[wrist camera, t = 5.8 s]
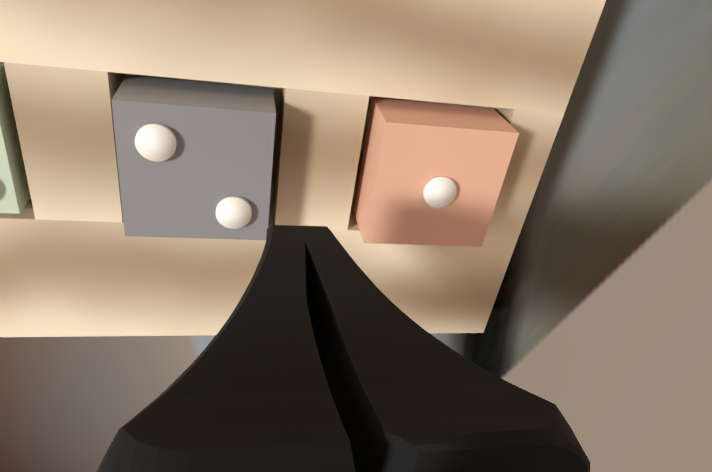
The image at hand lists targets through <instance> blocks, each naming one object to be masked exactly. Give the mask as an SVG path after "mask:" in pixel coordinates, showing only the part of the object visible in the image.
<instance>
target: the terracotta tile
mask: <svg viewBox="0 0 712 472" xmlns="http://www.w3.org/2000/svg"><path fill="white" fill-rule="evenodd" d="M518 135H519V132H518V131H516V130H515V129H514V128H513V127H512V126H511V125H510V124H509V123H508V122H507V121H506V120H505V119H504V118H503V117H502V116H501V115H499V114H498V113H497V112H496V111H495V110H494V109H492V108H481V107H470V106H459V105H448V104H437V103H426V102H415V101H404V100H393V99H382V98H372V104H371V110H370V116H369V122H368V127H367V133H366V139H365V145H364V151H363V157H362V163H361V169H360V175H359V181H358V187H357V193H356V199H355V205H354V214H355V217H356V220H357V223H358V226H359V229H360V232H361V236H362V239H363V242H364V243H372V244H406V245H440V246H474V247H482V245H483V242H484V239H485V235H486V232H487V229H488V226H489V223H490V220H491V217H492V214H493V211H494V208H495V205H496V202H497V199H498V196H499V193H500V190H501V187H502V184H503V181H504V178H505V175H506V172H507V169H508V166H509V163H510V160H511V157H512V154H513V151H514V148H515V144H516V141H517V138H518Z"/></svg>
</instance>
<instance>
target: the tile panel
mask: <svg viewBox="0 0 712 472" xmlns="http://www.w3.org/2000/svg"><path fill="white" fill-rule="evenodd" d="M605 2H606V0H0V62H4V66H5V71H6V76H7V81H8V86H9V91H10V96H11V101H12V106H13V111H14V116H15V121H16V126H17V131H18V136H19V141H20V146H21V151H22V156H23V161H24V166H25V171H26V175H27V180H28V185H29V190H30V195H31V198H30V199H29V201H28V202H27V204H26V205H25V207H24V208H23V210H22V211H21V213H20V214H12V213H0V337H60V336H61V337H64V336H65V337H66V336H179V335H217V334H218V332H219V331H220V330H221V328H222V327H223V325H224V324H225V323H226V321H227V320H228V318H229V317H230V315H231V314H232V312H233V311H234V309H235V308H236V306H237V304H238V303H239V301H240V299H241V297H242V296H243V294H244V292H245V290H246V288H247V287H248V285H249V283H250V281H251V279H252V277H253V275H254V272H255V270H256V268H257V266H258V263H259V261H260V259H261V256H262V253H263V250H264V247H265V243H266V240H237V239H203V238H169V237H135V236H125V232H124V222H123V212H122V202H121V192H120V182H119V172H118V162H117V151H116V141H115V131H114V121H113V111H112V101H111V100H112V98H113V96H114V95H115V93H116V91H117V90H118V88H119V87H120V85H121V83H122V82H123V80H124V78H125V77H126V75H131V76H142V77H153V78H164V79H175V80H186V81H197V82H207V83H218V84H229V85H240V86H251V87H262V88H273V92H274V101H275V109H276V121H275V135H274V150H273V164H272V178H271V192H270V206H269V221H268V228H269V227H270V226H272V225H294V226H327V227H328V228H329V229H330V230H331V231H332V233H333V234H334V235H335V237H336V238H337V239H338V241H339V242H340V243H341V245H342V246H343V247H344V249H345V250H346V251H347V253H348V254H349V255H350V256H351V258H352V259H353V260H354V261H355V262H356V264H357V265H358V266H359V267H360V268H361V270H362V271H363V272H364V273H365V274H366V275H367V276H368V278H369V279H370V280H371V281H372V282H373V283H374V284H375V285H376V286H377V288H378V289H379V290H380V291H381V292H382V293H383V294H384V295H385V296H386V297H387V298H388V299H389V300H390V301H391V302H392V303H393V304H395V305H396V306H397V307H398V308H399V309H400V310H401V311H402V312H403V313H405V314H406V315H407V316H408V317H409V318H411V319H412V320H413V321H414V322H416V323H417V324H418V325H419V326H420V327H422V328H423V329H424V330H425V331H427V332H428V333H483V332H484V329H485V327H486V324H487V321H488V318H489V316H490V313H491V310H492V308H493V305H494V302H495V299H496V297H497V294H498V291H499V289H500V286H501V283H502V281H503V278H504V275H505V272H506V270H507V267H508V264H509V262H510V259H511V256H512V254H513V251H514V248H515V245H516V243H517V240H518V237H519V235H520V232H521V229H522V226H523V224H524V221H525V218H526V216H527V213H528V210H529V208H530V205H531V202H532V199H533V197H534V194H535V191H536V189H537V186H538V183H539V180H540V178H541V175H542V172H543V170H544V167H545V164H546V162H547V159H548V156H549V153H550V151H551V148H552V145H553V143H554V140H555V137H556V135H557V132H558V129H559V126H560V124H561V121H562V118H563V116H564V113H565V110H566V107H567V105H568V102H569V99H570V97H571V94H572V91H573V89H574V86H575V83H576V80H577V78H578V75H579V72H580V70H581V67H582V64H583V61H584V59H585V56H586V53H587V51H588V48H589V45H590V43H591V40H592V37H593V34H594V32H595V29H596V26H597V24H598V21H599V18H600V16H601V13H602V10H603V7H604V5H605ZM372 98H382V99H393V100H404V101H415V102H426V103H437V104H448V105H459V106H470V107H481V108H492V109H494V110H495V111H496V112H497V113H498V114H499V115H501V116H502V117H503V118H504V119H505V120H506V121H507V122H508V123H509V124H510V125H511V126H512V127H513V128H514V129H515V130H516V131H518V132H519V135H518V138H517V141H516V144H515V148H514V151H513V154H512V157H511V160H510V163H509V166H508V169H507V172H506V175H505V178H504V181H503V184H502V187H501V190H500V193H499V196H498V199H497V202H496V205H495V208H494V211H493V214H492V217H491V220H490V223H489V226H488V229H487V232H486V235H485V239H484V242H483V245H482V247H474V246H440V245H406V244H372V243H364V242H363V239H362V236H361V232H360V229H359V226H358V223H357V220H356V217H355V214H354V205H355V199H356V193H357V187H358V181H359V175H360V169H361V163H362V157H363V151H364V145H365V139H366V133H367V127H368V122H369V116H370V110H371V104H372Z"/></svg>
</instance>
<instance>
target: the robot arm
mask: <svg viewBox="0 0 712 472" xmlns="http://www.w3.org/2000/svg"><path fill="white" fill-rule="evenodd" d="M97 472H590V462H589V460H588V458H587V456H586V455H585V453H584V451H583V449H582V447H581V445H580V444H579V442H578V440H577V438H576V437H575V435H574V433H573V431H572V429H571V428H570V426H569V424H568V423H567V421H566V420H565V418H564V417H563V415H562V414H561V412H560V411H559V409H558V408H557V407H556V405H555V404H553V403H551V402H549V401H547V400H545V399H542V398H540V397H538V396H536V395H534V394H532V393H529V392H527V391H525V390H523V389H521V388H519V387H517V386H515V385H512V384H510V383H508V382H507V381H505V380H503V379H501V378H499V377H497V376H496V375H494V374H492V373H490V372H488V371H487V370H485V369H483V368H481V367H479V366H478V365H476V364H474V363H473V362H471V361H469V360H468V359H466V358H465V357H463V356H461V355H460V354H458V353H457V352H455V351H454V350H452V349H451V348H449V347H448V346H446V345H445V344H444V343H442V342H441V341H439V340H438V339H436V338H435V337H433V336H432V335H431V334H429V333H428V332H427V331H425V330H424V329H423V328H422V327H420V326H419V325H418V324H417V323H416V322H414V321H413V320H412V319H411V318H409V317H408V316H407V315H406V314H405V313H403V312H402V311H401V310H400V309H399V308H398V307H397V306H396V305H395V304H393V303H392V302H391V301H390V300H389V299H388V298H387V297H386V296H385V295H384V294H383V293H382V292H381V291H380V290H379V289H378V288H377V286H376V285H375V284H374V283H373V282H372V281H371V280H370V279H369V278H368V276H367V275H366V274H365V273H364V272H363V271H362V270H361V268H360V267H359V266H358V265H357V264H356V262H355V261H354V260H353V259H352V258H351V256H350V255H349V254H348V253H347V251H346V250H345V249H344V247H343V246H342V245H341V243H340V242H339V241H338V239H337V238H336V237H335V235H334V234H333V233H332V231H331V230H330V229H329V228H328V227H327V226H294V225H272V226H270V227H269V228H268V229H267V235H266V243H265V247H264V250H263V253H262V256H261V259H260V261H259V263H258V266H257V268H256V270H255V272H254V275H253V277H252V279H251V281H250V283H249V285H248V287H247V288H246V290H245V292H244V294H243V296H242V297H241V299H240V301H239V303H238V304H237V306H236V308H235V309H234V311H233V312H232V314H231V315H230V317H229V318H228V320H227V321H226V323H225V324H224V325H223V327H222V328H221V330H220V331H219V332H218V334H217V335H216V336H215V337H214V338H213V340H212V341H211V342H210V343H209V345H208V346H207V347H206V348H205V350H204V351H203V352H202V353H201V354H200V355H199V357H198V358H197V359H196V360H195V361H194V362H193V363H192V364H191V365H190V366H189V367H188V368H187V369H186V370H185V371H184V372H183V373H182V374H181V376H179V377H178V378H177V379H176V380H175V381H174V382H173V383H172V385H170V386H169V387H168V388H167V389H166V390H165V391H164V392H163V393H162V394H161V395H160V396H159V397H158V398H157V399H155V400H154V401H153V402H152V403H150V404H149V405H148V406H147V407H146V408H144V409H143V410H142V411H141V412H140V413H138V414H137V415H136V416H135V417H134V418H132V419H131V420H130V421H129V422H128V423H126V424H125V425H124V426H123V427H121V428H120V429H119V430H118V432H117V434H116V436H115V438H114V439H113V441H112V443H111V445H110V447H109V449H108V450H107V452H106V454H105V456H104V458H103V461H102V462H101V465H100V467H99V469H98V471H97Z"/></svg>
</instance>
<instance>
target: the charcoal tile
mask: <svg viewBox="0 0 712 472" xmlns="http://www.w3.org/2000/svg"><path fill="white" fill-rule="evenodd" d="M111 101H112V111H113V121H114V131H115V141H116V151H117V162H118V172H119V182H120V192H121V202H122V212H123V222H124V232H125V236H135V237H169V238H203V239H237V240H266V235H267V229H268V221H269V206H270V192H271V178H272V164H273V150H274V135H275V121H276V109H275V101H274V92H273V88H262V87H251V86H240V85H229V84H218V83H207V82H197V81H186V80H175V79H164V78H153V77H142V76H131V75H126V77H125V78H124V80H123V82H122V83H121V85H120V87H119V88H118V90H117V91H116V93H115V95H114V96H113V98H112V100H111Z"/></svg>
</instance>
